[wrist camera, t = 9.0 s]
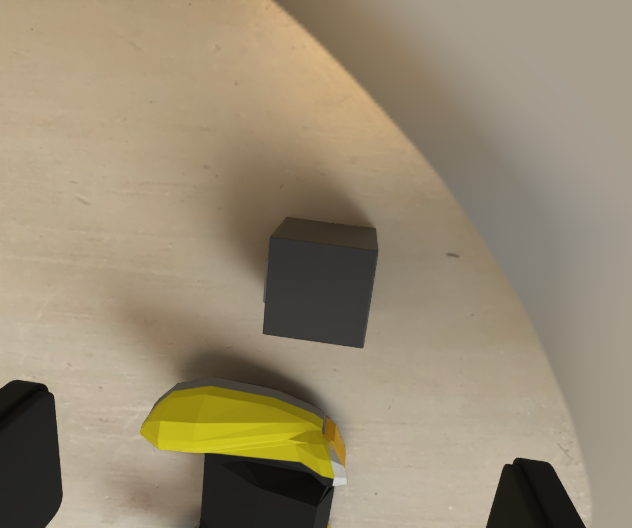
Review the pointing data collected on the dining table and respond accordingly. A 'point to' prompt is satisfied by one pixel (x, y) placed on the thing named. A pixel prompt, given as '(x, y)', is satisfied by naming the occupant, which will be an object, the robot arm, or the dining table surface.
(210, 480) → the gaming controller
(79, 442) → the dining table surface
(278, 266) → the block
